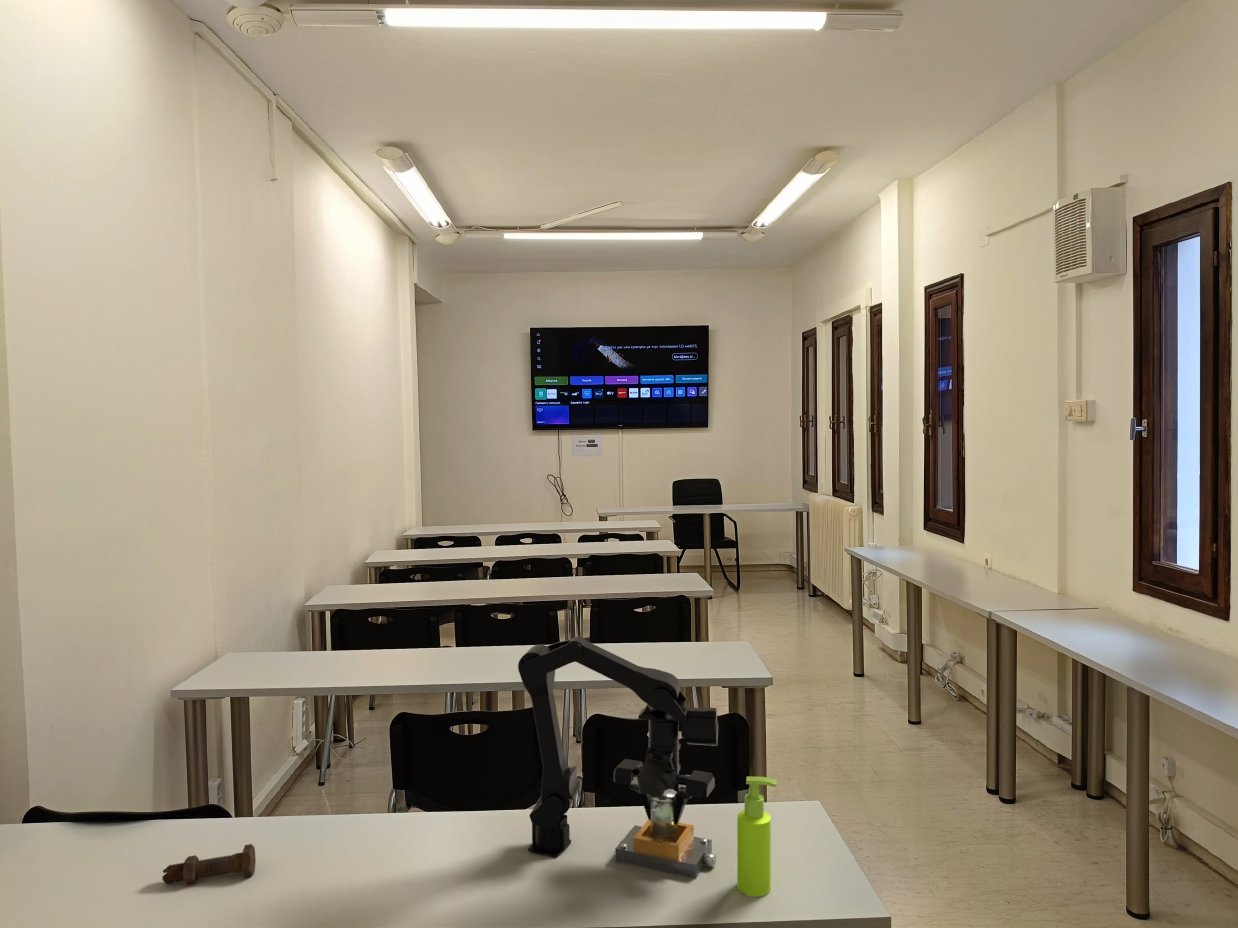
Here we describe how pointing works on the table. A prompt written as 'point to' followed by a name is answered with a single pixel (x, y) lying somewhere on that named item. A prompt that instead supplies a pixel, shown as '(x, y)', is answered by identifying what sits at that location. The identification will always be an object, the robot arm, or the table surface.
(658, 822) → the spout can
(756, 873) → the soap dispenser
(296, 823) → the table surface
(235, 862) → the bolt
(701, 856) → the grey orange socket fixture
